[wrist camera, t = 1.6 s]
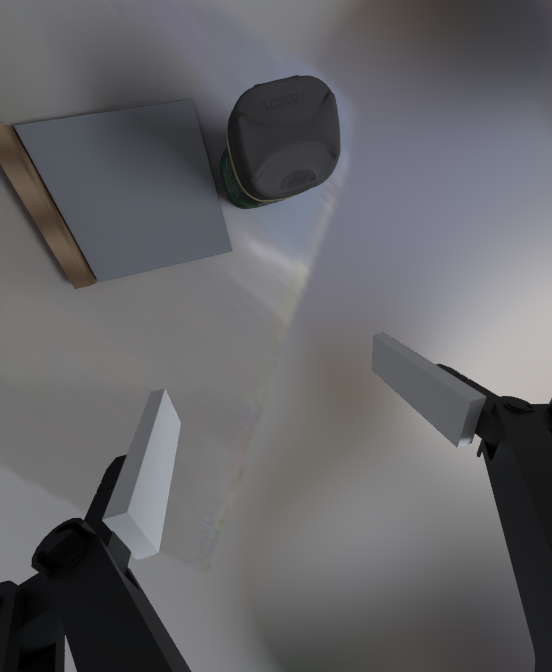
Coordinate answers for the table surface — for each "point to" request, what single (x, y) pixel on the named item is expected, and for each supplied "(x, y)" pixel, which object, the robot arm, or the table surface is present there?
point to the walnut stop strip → (42, 208)
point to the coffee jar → (280, 141)
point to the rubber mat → (131, 186)
